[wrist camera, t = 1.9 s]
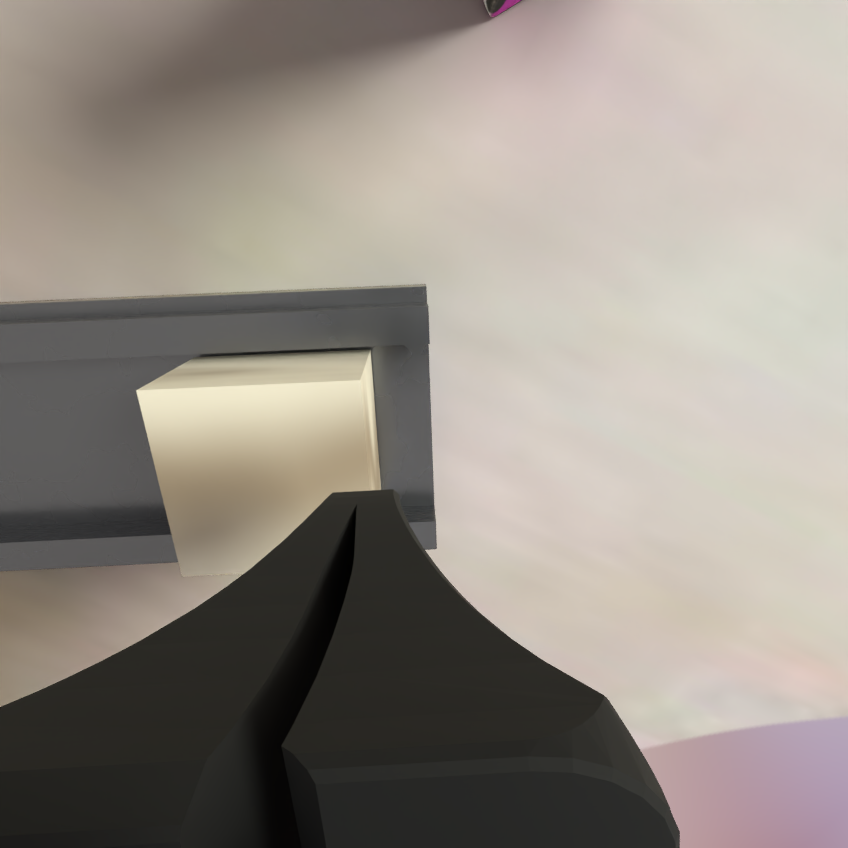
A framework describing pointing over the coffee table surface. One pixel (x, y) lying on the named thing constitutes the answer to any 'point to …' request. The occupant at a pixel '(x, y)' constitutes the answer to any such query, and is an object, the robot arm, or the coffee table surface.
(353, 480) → the block
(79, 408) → the chute
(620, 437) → the coffee table surface
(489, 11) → the candy bar box
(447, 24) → the coffee table surface
